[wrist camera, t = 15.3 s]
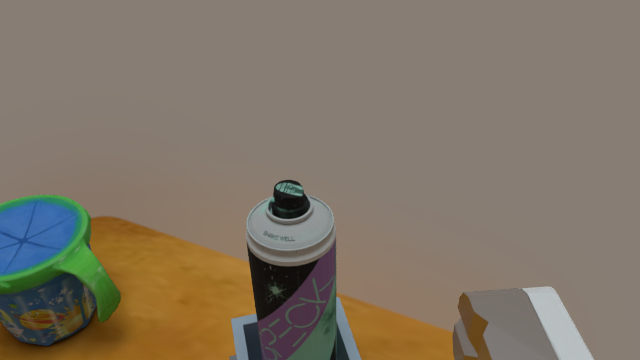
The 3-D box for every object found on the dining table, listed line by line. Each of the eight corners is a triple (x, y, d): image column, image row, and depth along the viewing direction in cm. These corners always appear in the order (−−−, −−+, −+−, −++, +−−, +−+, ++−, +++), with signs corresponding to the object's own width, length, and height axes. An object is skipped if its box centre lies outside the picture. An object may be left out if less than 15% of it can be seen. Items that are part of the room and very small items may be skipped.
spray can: (259, 371, 45) (230, 172, 33) (322, 351, 46) (316, 153, 34) (278, 432, 41) (253, 228, 29) (347, 408, 42) (350, 204, 30)
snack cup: (160, 307, 51) (136, 224, 45) (69, 397, 44) (26, 313, 38) (47, 252, 58) (13, 173, 52) (-49, 323, 50) (-102, 241, 44)
